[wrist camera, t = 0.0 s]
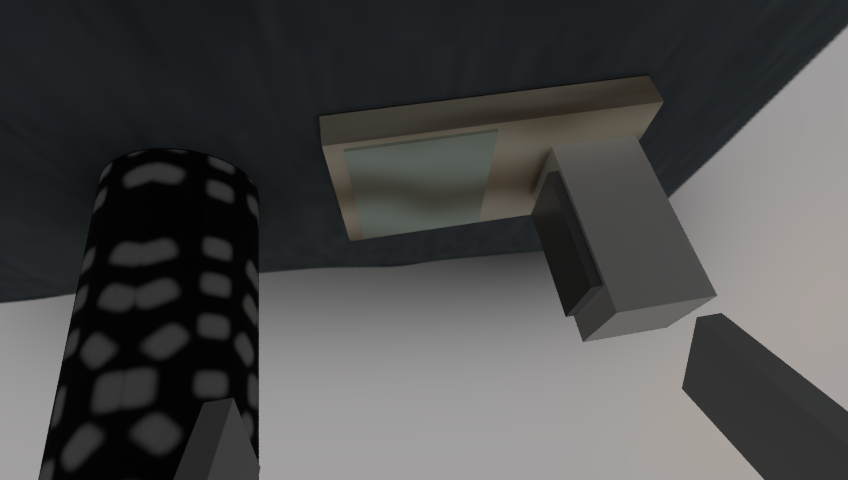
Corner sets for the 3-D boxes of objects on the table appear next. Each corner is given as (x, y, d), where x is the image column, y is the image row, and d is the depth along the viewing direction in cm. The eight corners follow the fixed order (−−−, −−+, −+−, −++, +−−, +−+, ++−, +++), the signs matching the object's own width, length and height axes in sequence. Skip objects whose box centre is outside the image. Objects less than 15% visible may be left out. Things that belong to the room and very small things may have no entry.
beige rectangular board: (319, 116, 23) (322, 149, 22) (648, 75, 25) (665, 104, 24) (347, 216, 32) (350, 243, 31) (588, 181, 34) (599, 206, 33)
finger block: (541, 147, 25) (604, 314, 21) (635, 134, 26) (717, 295, 21) (523, 196, 30) (572, 343, 25) (604, 185, 30) (666, 327, 26)
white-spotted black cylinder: (286, 187, 28) (300, 581, 19) (213, 242, 32) (195, 588, 23) (141, 125, 22) (54, 667, 12) (74, 203, 26) (-30, 656, 16)
